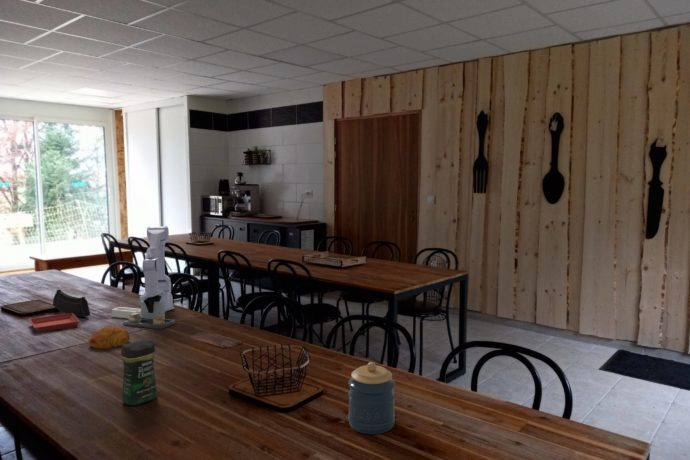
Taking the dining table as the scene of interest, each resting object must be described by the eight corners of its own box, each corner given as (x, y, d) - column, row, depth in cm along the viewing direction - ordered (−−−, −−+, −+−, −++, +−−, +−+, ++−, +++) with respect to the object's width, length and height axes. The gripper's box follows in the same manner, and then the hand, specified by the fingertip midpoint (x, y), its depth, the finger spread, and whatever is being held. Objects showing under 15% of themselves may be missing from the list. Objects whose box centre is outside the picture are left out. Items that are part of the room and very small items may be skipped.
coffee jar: (132, 409, 147) (129, 348, 145) (118, 401, 152) (115, 343, 150) (161, 397, 154) (159, 340, 152) (148, 391, 159) (145, 335, 157)
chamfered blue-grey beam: (144, 316, 238) (143, 300, 237) (165, 318, 234) (164, 302, 233) (141, 317, 236) (140, 301, 235) (161, 320, 232) (161, 303, 231)
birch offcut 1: (157, 320, 231) (157, 315, 231) (164, 320, 230) (164, 315, 230) (153, 322, 227) (153, 317, 227) (159, 323, 227) (159, 317, 226)
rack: (138, 319, 241) (138, 316, 241) (175, 323, 234) (175, 320, 234) (123, 324, 232) (123, 321, 232) (161, 329, 225) (161, 325, 225)
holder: (120, 313, 251) (119, 306, 251) (146, 316, 246) (145, 309, 246) (111, 316, 246) (110, 309, 245) (137, 319, 241) (137, 312, 240)
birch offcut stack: (133, 322, 236) (133, 312, 235) (140, 323, 234) (140, 313, 234) (128, 324, 232) (127, 314, 232) (135, 325, 231) (134, 315, 230)
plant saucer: (72, 318, 244) (72, 312, 243) (80, 327, 230) (79, 320, 229) (29, 325, 233) (29, 318, 232) (34, 335, 218) (34, 327, 218)
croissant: (116, 341, 216) (114, 322, 216) (136, 343, 207) (134, 323, 207) (82, 349, 204) (80, 330, 204) (102, 351, 195) (100, 331, 195)
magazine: (92, 300, 242) (61, 276, 257) (85, 301, 239) (54, 277, 255) (88, 331, 246) (58, 306, 262) (82, 333, 244) (52, 307, 259)
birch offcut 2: (158, 325, 231) (157, 320, 231) (165, 326, 230) (165, 321, 230) (153, 327, 228) (152, 322, 228) (160, 328, 227) (160, 323, 226)
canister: (341, 430, 134) (341, 367, 132) (357, 409, 146) (357, 351, 144) (387, 439, 129) (388, 374, 127) (400, 417, 141) (400, 357, 140)
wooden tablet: (185, 334, 214) (204, 326, 222) (186, 339, 215) (205, 331, 222) (224, 347, 198) (244, 338, 206) (225, 352, 198) (244, 343, 206)
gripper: (155, 280, 242) (156, 307, 243) (133, 286, 228) (134, 315, 229) (167, 281, 239) (168, 308, 241) (146, 287, 226) (147, 316, 227)
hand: (152, 312), depth 235 cm, fingers closed on chamfered blue-grey beam, 2 cm apart
